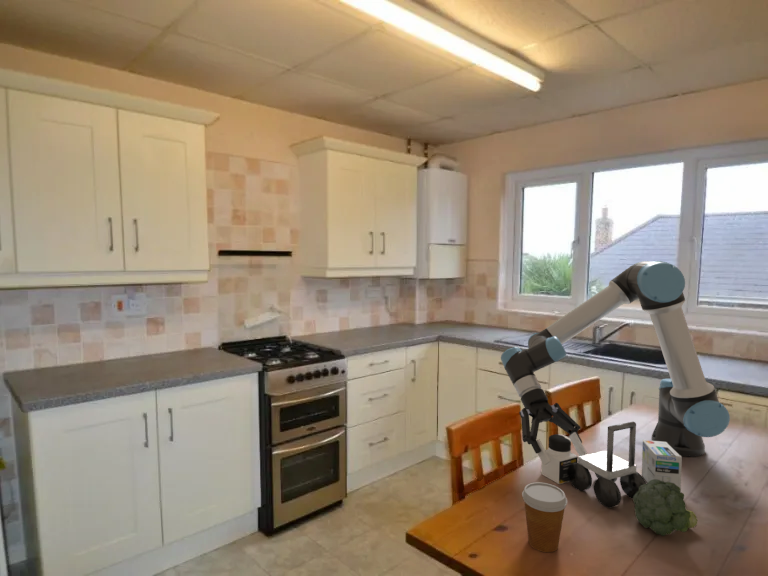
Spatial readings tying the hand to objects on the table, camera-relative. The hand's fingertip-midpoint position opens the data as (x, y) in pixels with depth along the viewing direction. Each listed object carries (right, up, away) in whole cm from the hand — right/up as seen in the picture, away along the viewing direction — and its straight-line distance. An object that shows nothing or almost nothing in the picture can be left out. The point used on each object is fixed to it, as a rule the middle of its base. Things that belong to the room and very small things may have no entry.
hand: (565, 459), depth 131 cm
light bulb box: (+26, -7, -2) cm, 27 cm away
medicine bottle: (-1, -6, +3) cm, 7 cm away
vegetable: (+14, -8, -23) cm, 28 cm away
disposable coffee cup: (-16, -8, -28) cm, 34 cm away
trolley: (+8, -7, -7) cm, 12 cm away
